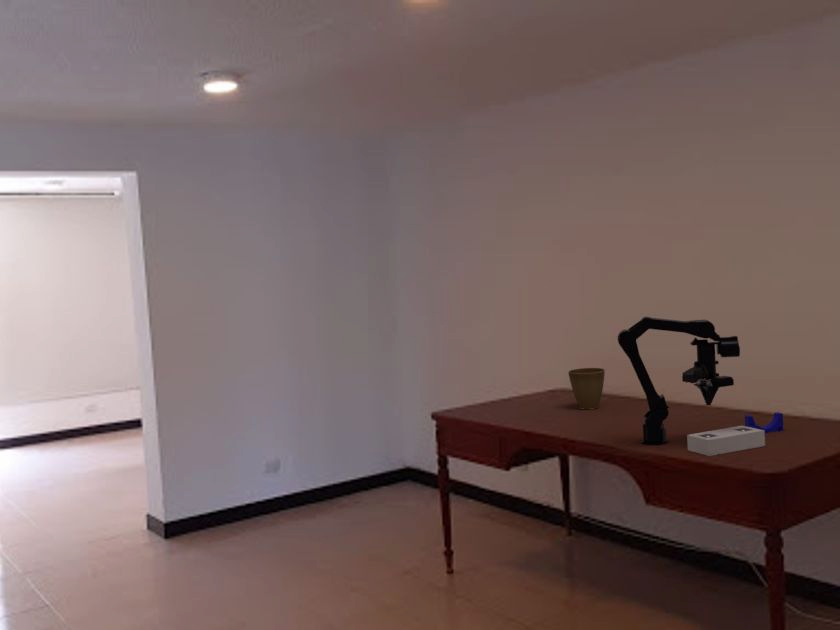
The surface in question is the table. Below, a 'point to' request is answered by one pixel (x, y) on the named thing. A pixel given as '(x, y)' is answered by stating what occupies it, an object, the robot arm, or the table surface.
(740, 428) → the far peg
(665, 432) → the robot arm
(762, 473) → the table surface
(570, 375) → the plant pot
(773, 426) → the blue arch block
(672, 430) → the table surface
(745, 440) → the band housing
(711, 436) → the near peg
